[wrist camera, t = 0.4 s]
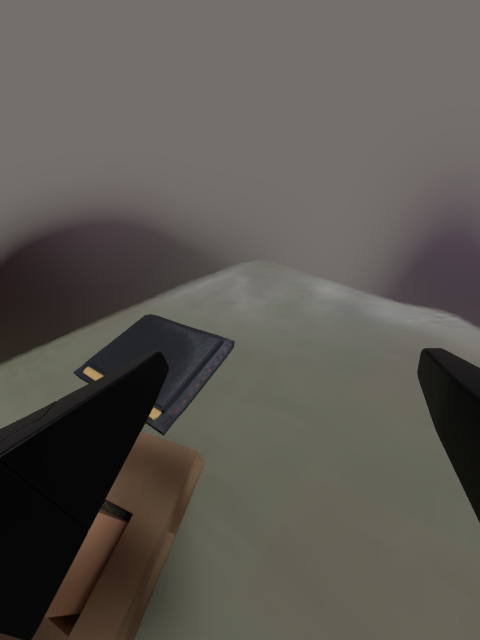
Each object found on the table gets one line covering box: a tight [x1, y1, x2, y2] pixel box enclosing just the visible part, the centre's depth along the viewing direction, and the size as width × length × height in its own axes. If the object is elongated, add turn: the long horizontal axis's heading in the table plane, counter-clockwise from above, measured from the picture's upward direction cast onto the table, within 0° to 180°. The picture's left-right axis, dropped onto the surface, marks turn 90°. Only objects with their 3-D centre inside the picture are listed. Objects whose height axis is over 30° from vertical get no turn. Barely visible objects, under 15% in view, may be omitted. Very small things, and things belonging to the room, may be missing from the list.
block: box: [44, 507, 129, 618], centre depth 15 cm, size 4×4×8 cm
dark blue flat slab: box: [74, 314, 234, 435], centre depth 32 cm, size 20×2×15 cm
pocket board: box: [0, 432, 205, 640], centre depth 16 cm, size 16×11×3 cm
